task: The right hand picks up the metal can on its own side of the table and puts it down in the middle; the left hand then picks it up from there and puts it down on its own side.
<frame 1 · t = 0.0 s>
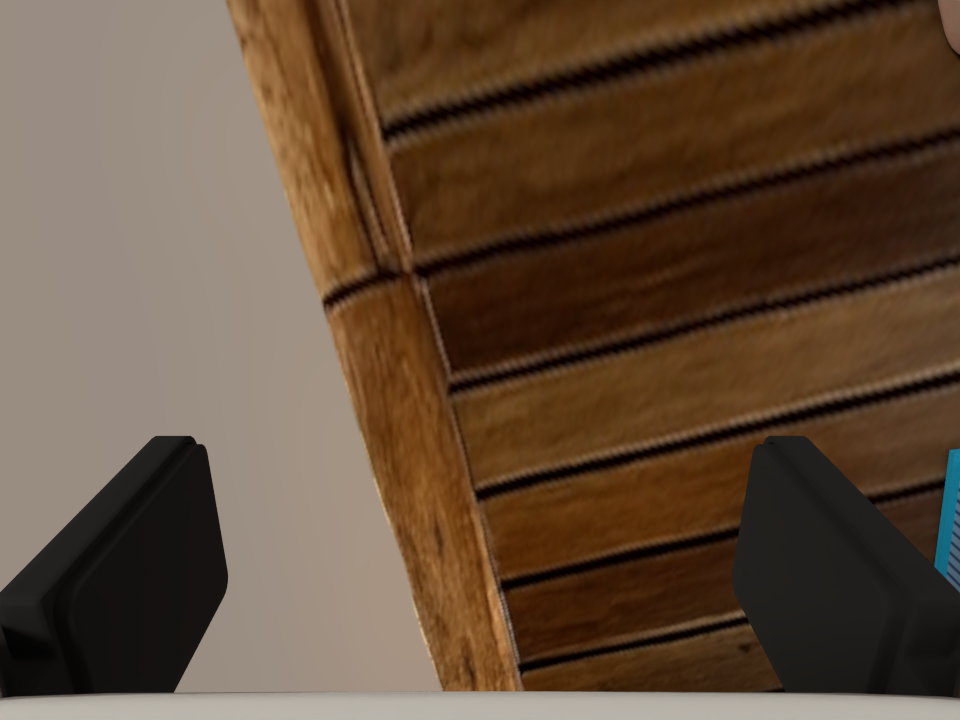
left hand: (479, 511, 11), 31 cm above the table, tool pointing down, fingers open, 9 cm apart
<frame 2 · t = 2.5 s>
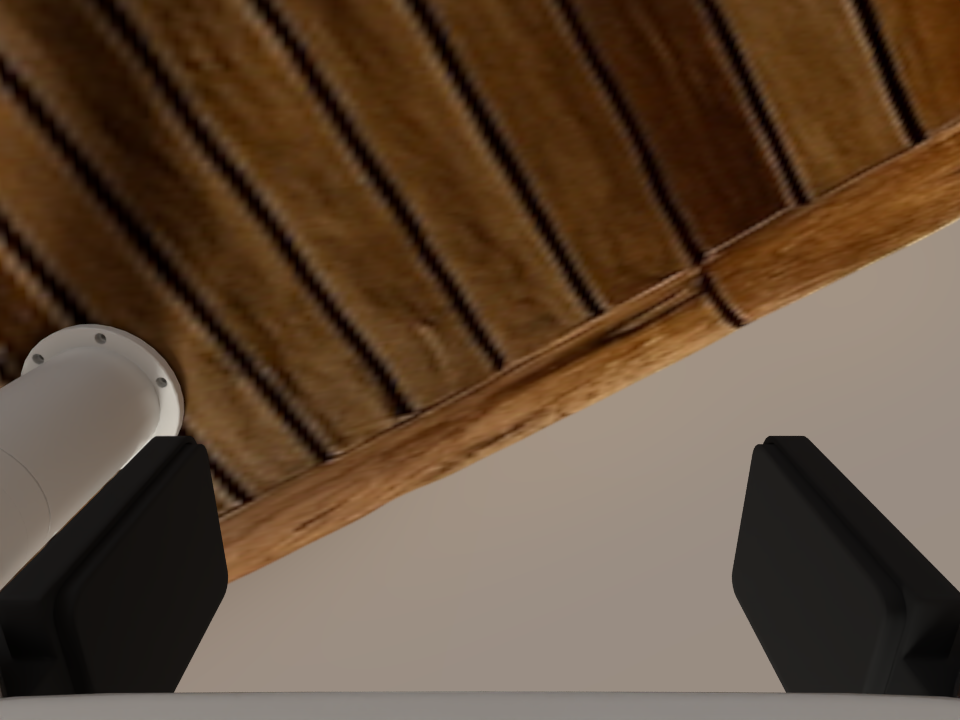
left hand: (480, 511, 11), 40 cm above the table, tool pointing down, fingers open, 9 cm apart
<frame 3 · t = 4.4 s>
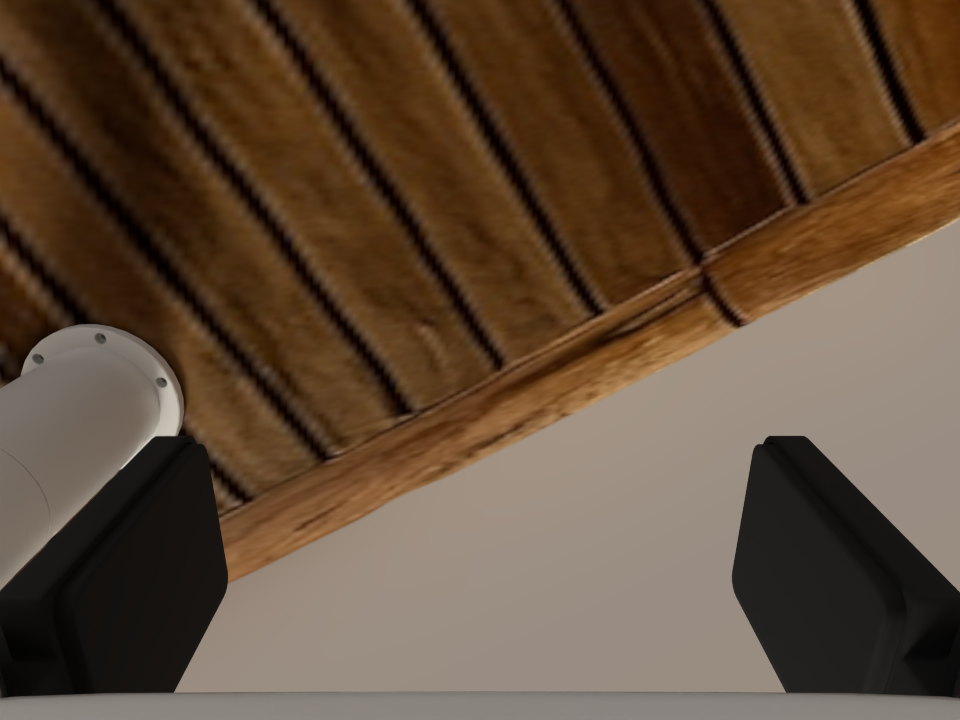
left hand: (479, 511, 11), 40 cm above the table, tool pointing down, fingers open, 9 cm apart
when the right hand's fingers open (4 cm above the table, at t = 6.1 s): can drops 2 cm, on the table.
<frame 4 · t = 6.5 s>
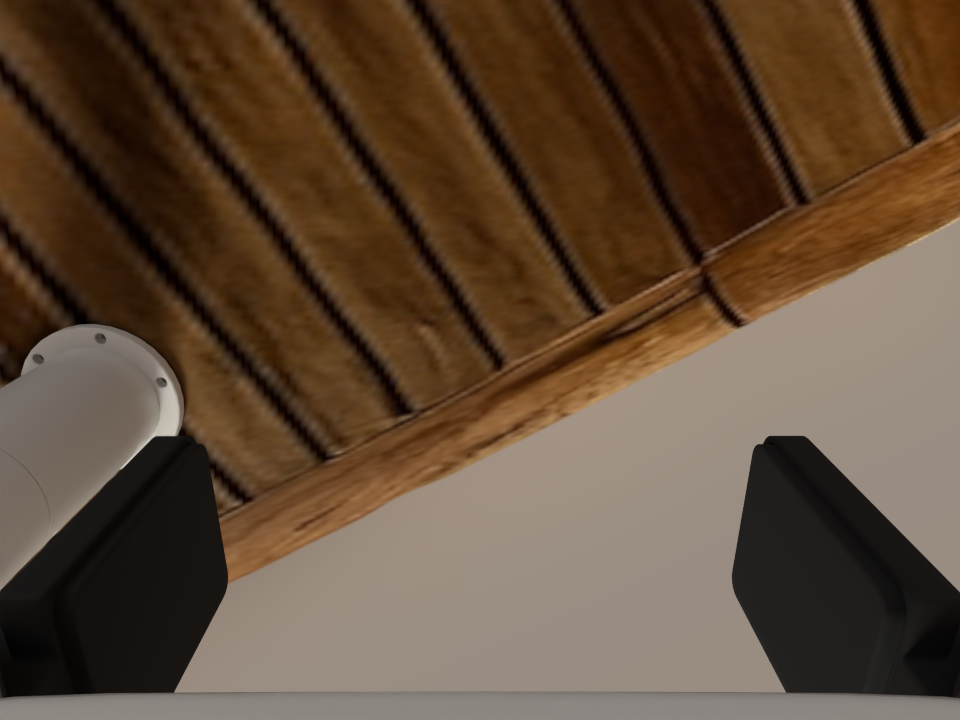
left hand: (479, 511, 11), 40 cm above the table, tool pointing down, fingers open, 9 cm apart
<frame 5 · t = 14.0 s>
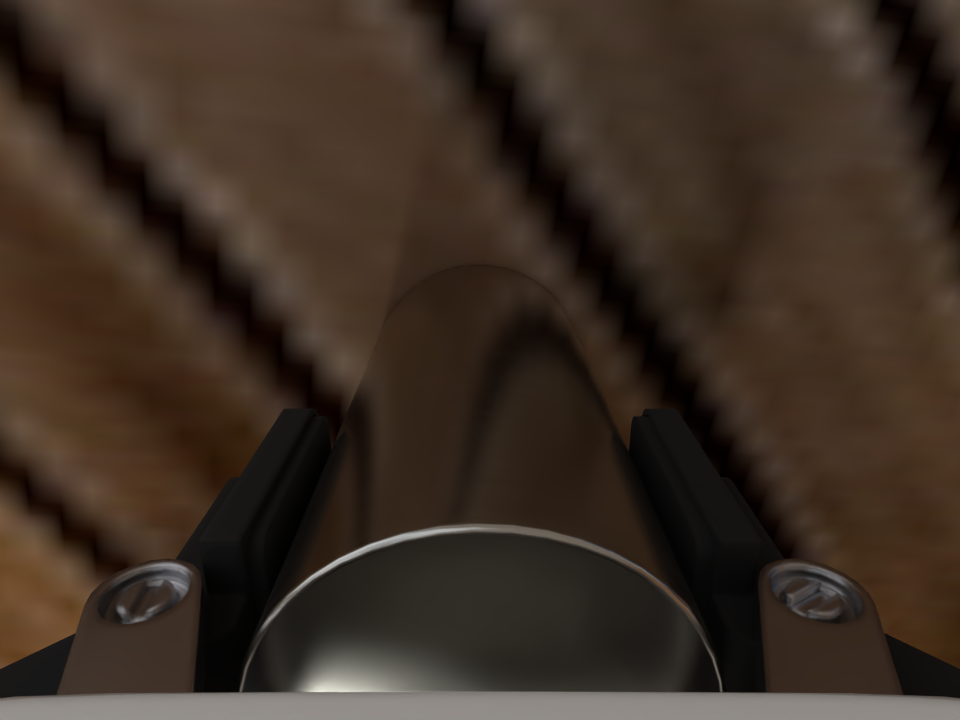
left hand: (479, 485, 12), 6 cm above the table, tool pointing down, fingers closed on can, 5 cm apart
can: (478, 363, 18), on the table, touching left hand
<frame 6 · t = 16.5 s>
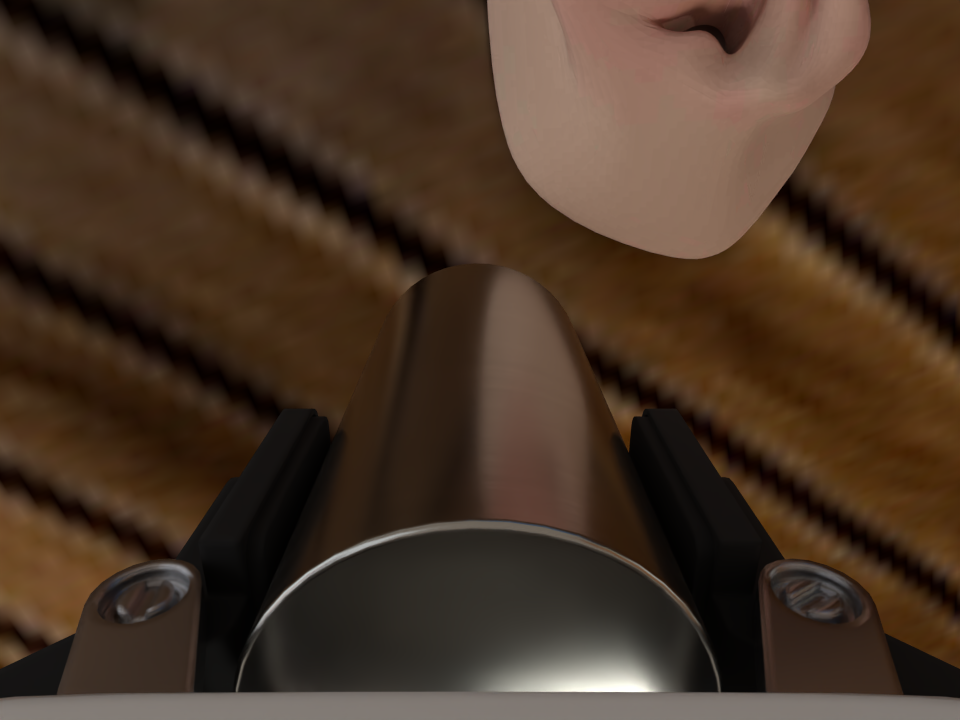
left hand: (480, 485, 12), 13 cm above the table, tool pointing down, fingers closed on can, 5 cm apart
anatomical model: (659, 46, 21), on the table
can: (477, 361, 18), point 7 cm above the table, touching left hand
when the left hand's fingers open (7 cm above the table, at t = 19.2 s): can drops 1 cm, on the table.
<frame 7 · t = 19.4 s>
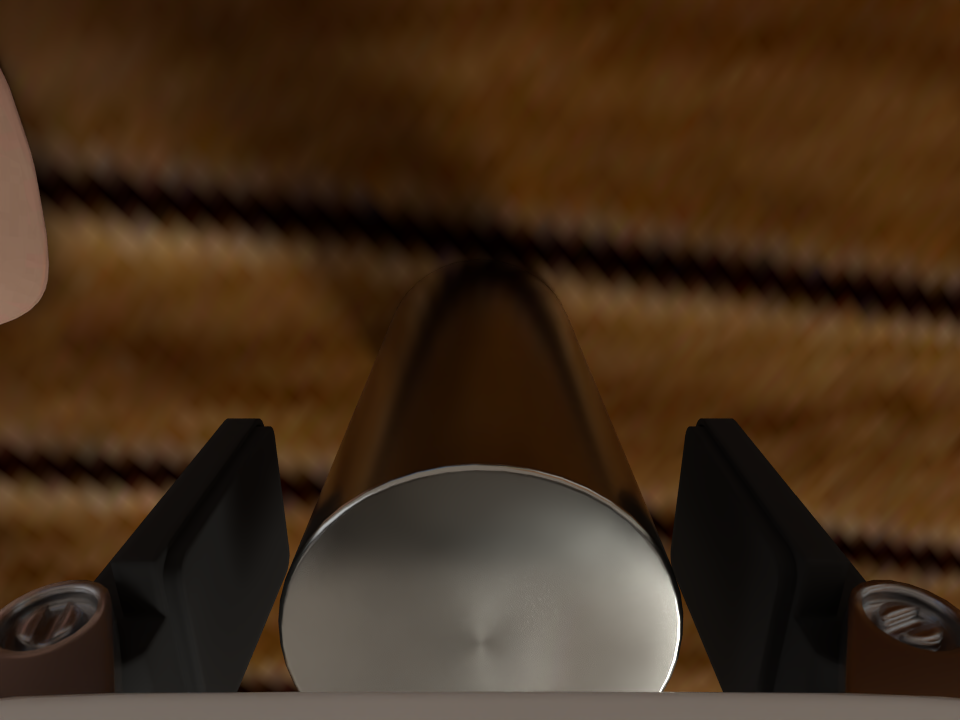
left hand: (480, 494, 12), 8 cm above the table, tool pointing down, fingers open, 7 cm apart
can: (480, 350, 19), on the table
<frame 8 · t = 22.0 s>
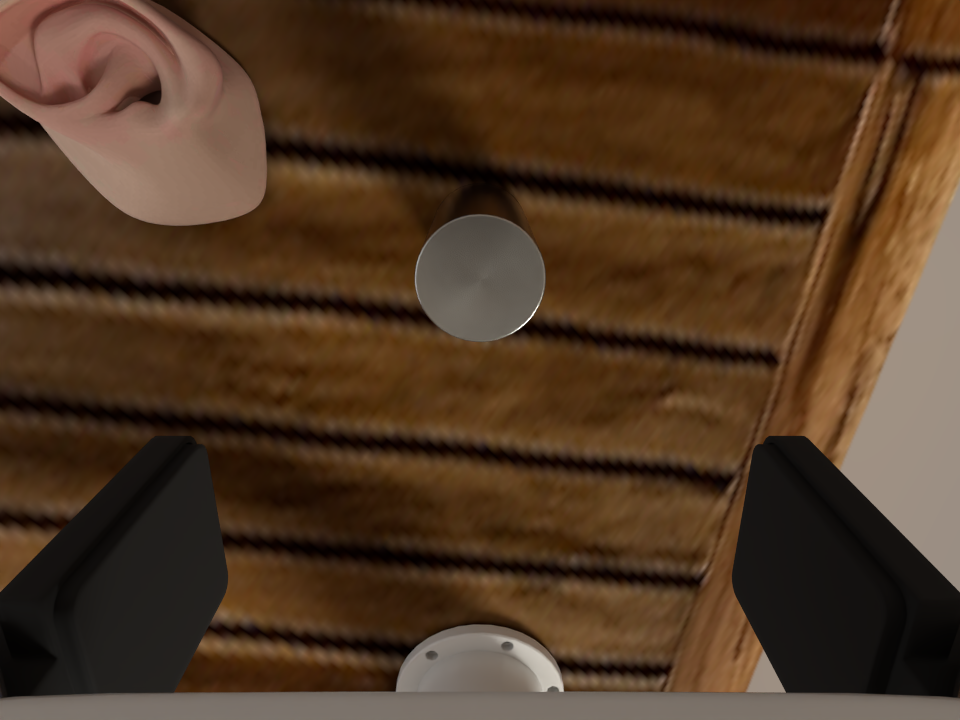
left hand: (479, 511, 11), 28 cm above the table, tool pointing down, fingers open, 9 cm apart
anatomical model: (152, 112, 35), on the table
can: (480, 231, 37), on the table
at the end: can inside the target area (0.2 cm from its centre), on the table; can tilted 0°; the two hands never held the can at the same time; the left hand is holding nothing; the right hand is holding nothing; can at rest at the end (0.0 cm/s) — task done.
